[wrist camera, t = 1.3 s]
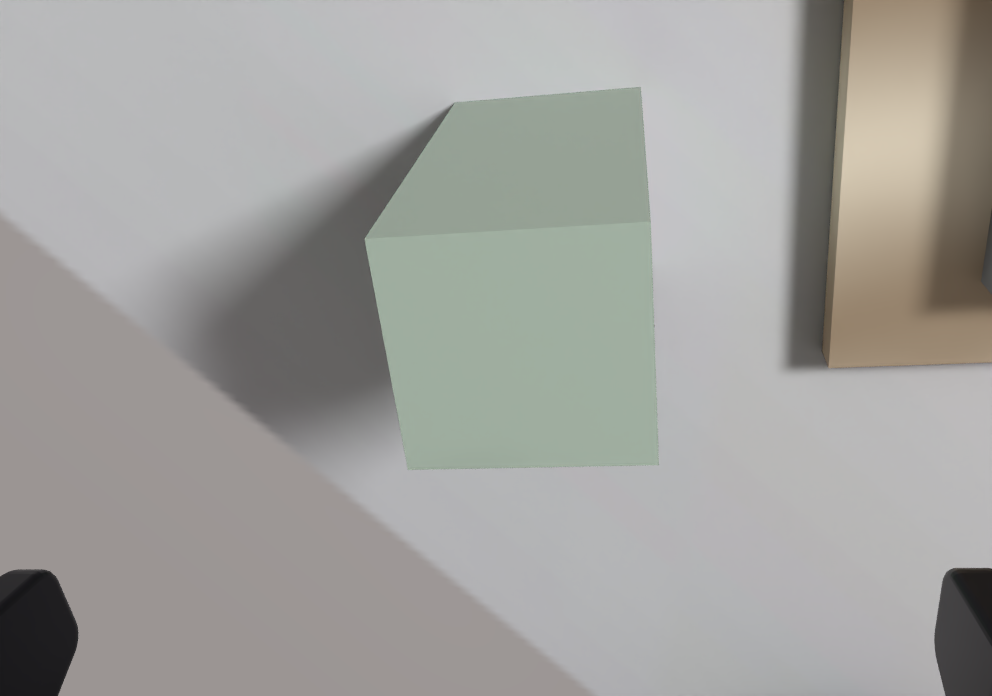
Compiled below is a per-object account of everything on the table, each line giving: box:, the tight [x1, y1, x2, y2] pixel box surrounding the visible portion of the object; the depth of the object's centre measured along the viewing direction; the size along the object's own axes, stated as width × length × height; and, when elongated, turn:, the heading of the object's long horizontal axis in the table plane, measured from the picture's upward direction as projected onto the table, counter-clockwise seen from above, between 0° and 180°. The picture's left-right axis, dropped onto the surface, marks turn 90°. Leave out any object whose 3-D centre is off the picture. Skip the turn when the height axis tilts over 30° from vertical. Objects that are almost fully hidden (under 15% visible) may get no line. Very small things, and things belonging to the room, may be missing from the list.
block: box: [365, 87, 659, 470], centre depth 17 cm, size 4×4×8 cm
